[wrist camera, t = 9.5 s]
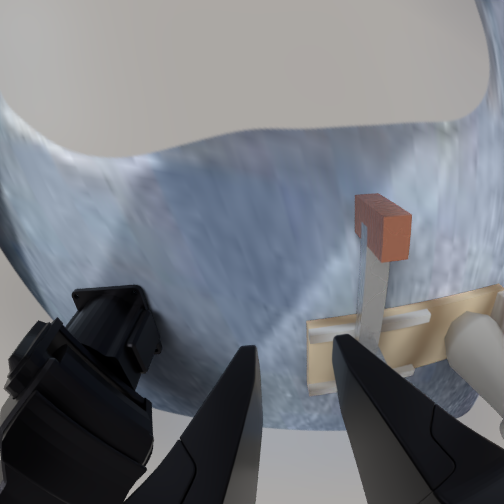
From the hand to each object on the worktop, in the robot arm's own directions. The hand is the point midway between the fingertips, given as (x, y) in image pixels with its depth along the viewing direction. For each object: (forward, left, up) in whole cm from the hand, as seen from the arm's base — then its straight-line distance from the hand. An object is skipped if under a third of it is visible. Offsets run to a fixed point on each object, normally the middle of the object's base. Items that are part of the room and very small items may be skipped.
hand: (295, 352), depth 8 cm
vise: (+12, -12, -12) cm, 21 cm away
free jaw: (+6, -7, -11) cm, 14 cm away
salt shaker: (+17, -12, -11) cm, 24 cm away
